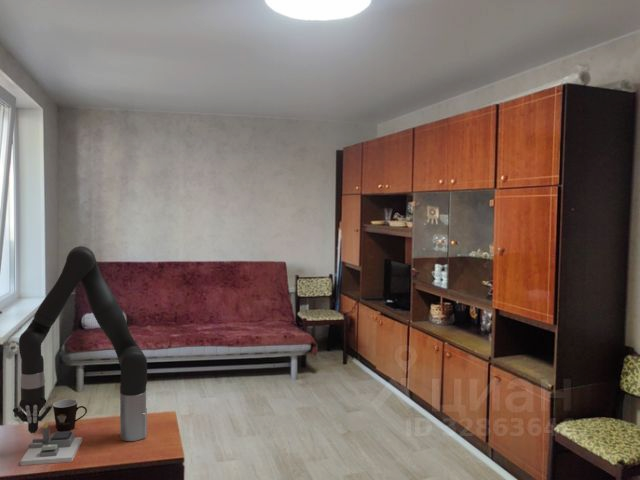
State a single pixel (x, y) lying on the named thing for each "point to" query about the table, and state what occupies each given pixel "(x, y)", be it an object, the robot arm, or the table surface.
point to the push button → (61, 435)
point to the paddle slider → (45, 432)
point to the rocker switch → (49, 447)
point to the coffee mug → (66, 414)
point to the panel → (51, 451)
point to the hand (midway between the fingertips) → (33, 432)
